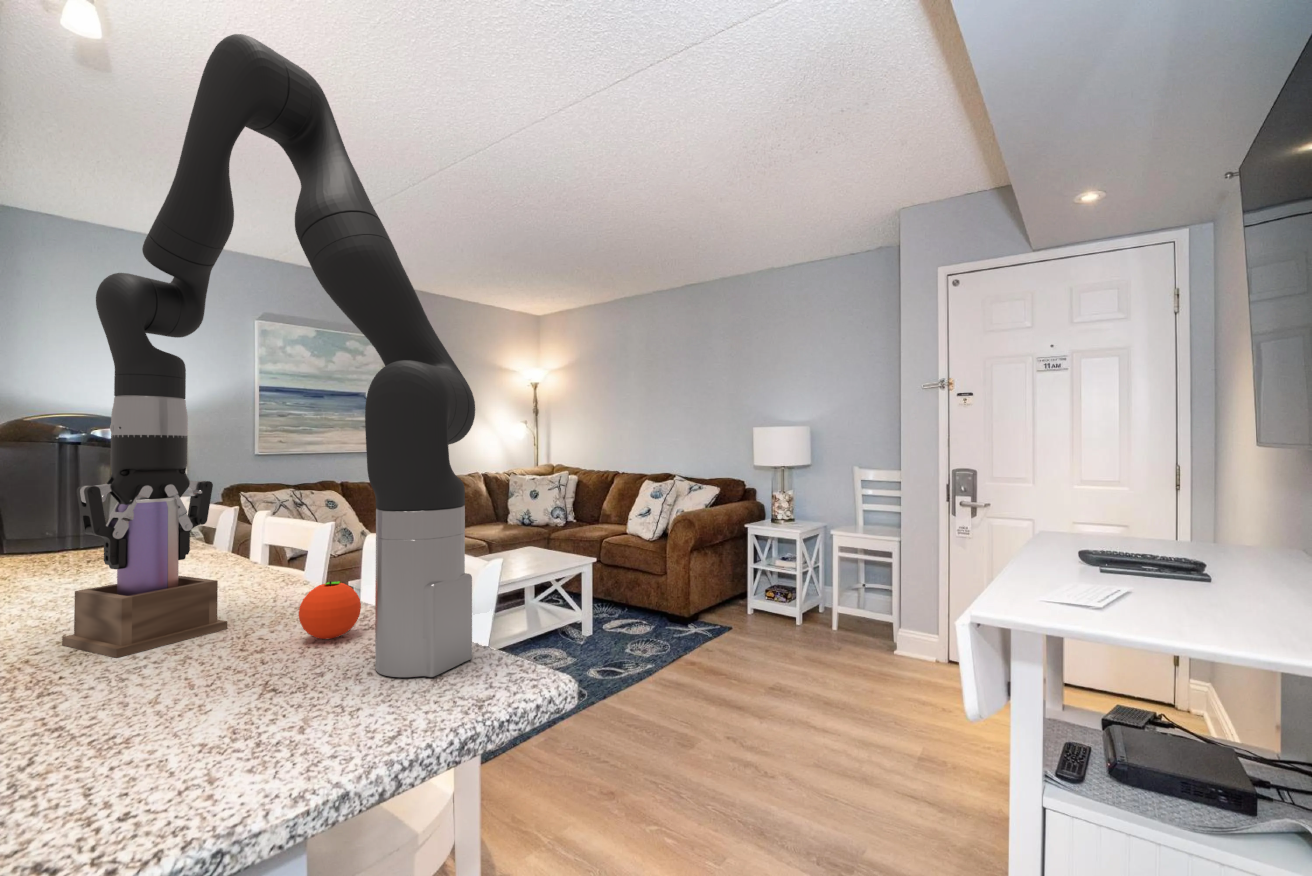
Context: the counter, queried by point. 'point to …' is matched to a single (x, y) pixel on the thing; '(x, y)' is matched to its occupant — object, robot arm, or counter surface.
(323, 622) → the clementine
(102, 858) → the counter surface
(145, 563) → the beverage can
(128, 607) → the open wooden box
